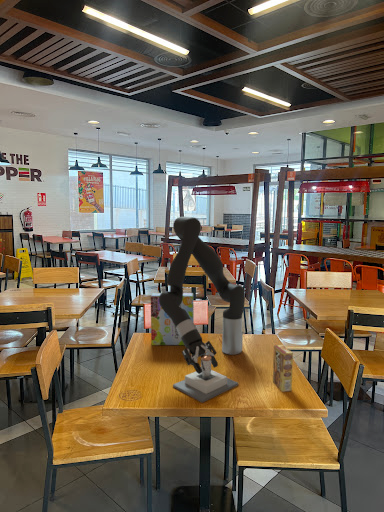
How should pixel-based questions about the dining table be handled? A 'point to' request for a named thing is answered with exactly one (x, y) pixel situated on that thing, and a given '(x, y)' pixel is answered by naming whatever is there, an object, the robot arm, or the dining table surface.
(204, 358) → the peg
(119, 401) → the dining table surface
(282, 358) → the candy box
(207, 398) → the dock
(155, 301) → the snack box
